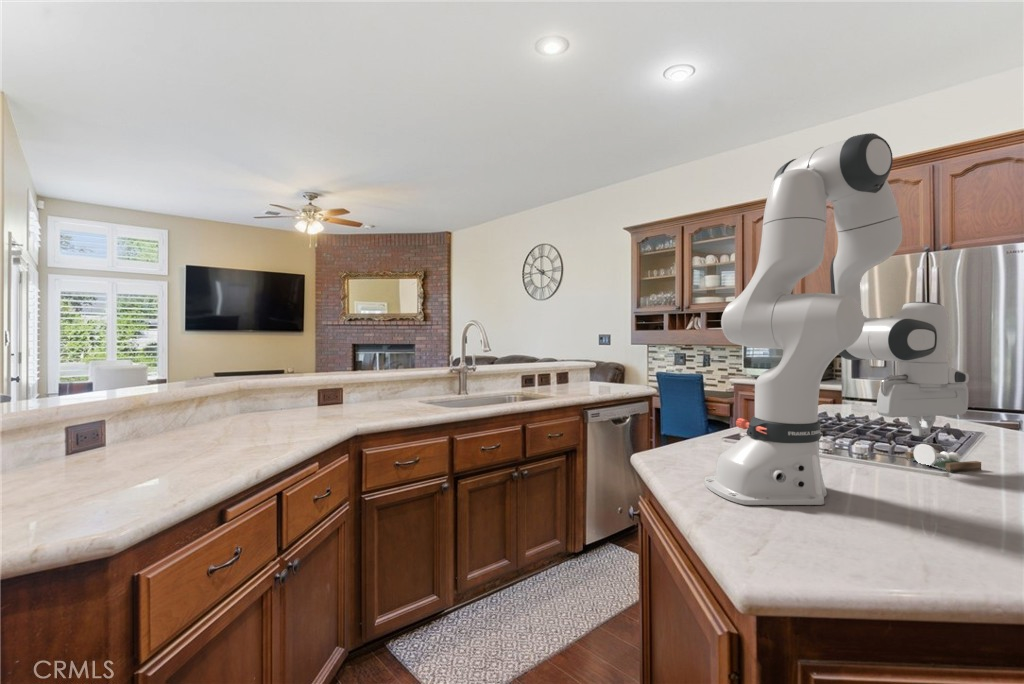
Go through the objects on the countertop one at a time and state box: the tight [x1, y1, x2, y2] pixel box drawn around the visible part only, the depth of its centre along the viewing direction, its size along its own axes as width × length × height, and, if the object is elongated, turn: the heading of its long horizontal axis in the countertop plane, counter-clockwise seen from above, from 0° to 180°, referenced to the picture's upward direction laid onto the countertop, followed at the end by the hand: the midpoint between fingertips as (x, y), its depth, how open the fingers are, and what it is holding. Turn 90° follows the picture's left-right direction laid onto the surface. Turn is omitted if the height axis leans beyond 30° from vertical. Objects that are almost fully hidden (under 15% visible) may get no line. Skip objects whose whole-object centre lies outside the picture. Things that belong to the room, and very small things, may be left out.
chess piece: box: [913, 443, 963, 467], centre depth 111 cm, size 5×5×10 cm
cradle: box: [905, 449, 982, 473], centre depth 111 cm, size 8×10×2 cm
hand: (920, 435), depth 109 cm, fingers closed
